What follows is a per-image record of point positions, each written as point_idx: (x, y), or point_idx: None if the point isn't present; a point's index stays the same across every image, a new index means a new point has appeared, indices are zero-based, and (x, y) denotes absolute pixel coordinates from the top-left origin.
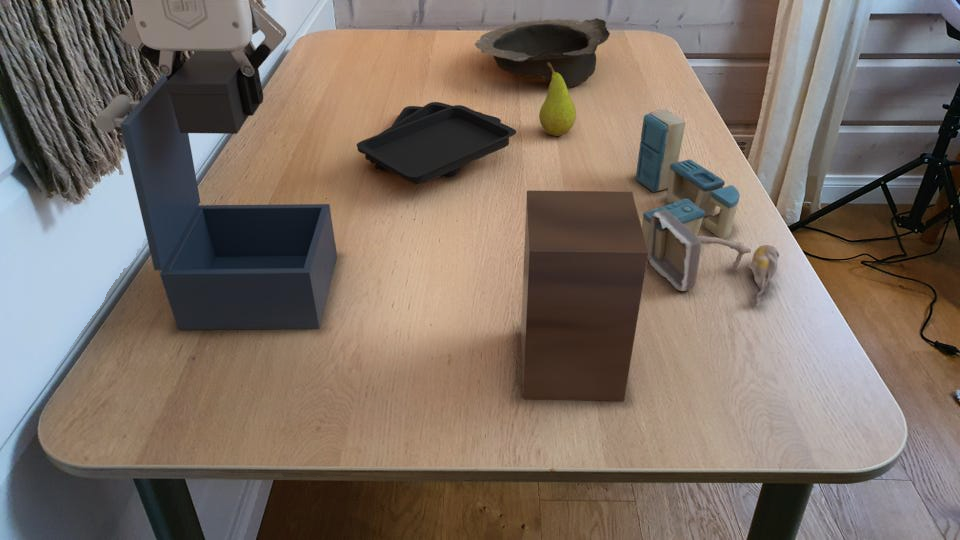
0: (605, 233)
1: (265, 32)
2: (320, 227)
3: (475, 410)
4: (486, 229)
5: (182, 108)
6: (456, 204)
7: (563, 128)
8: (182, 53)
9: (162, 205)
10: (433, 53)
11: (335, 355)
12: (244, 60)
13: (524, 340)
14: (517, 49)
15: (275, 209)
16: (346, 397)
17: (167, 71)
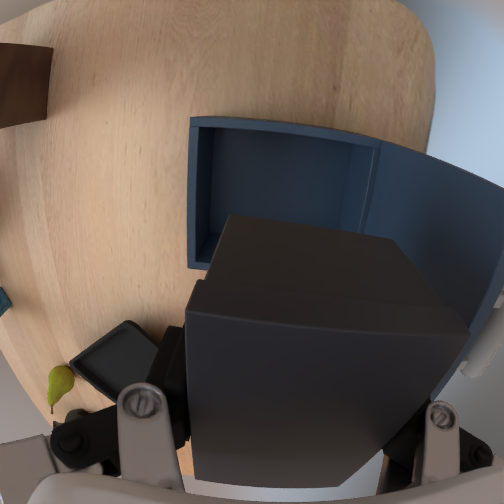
0: None
1: (29, 493)
2: (189, 216)
3: (82, 30)
4: (79, 261)
5: (399, 274)
6: (108, 302)
7: (56, 367)
8: (380, 476)
9: (398, 199)
10: (178, 461)
11: (190, 77)
12: (134, 437)
13: (19, 56)
14: None
15: None
16: (177, 27)
17: (435, 413)
